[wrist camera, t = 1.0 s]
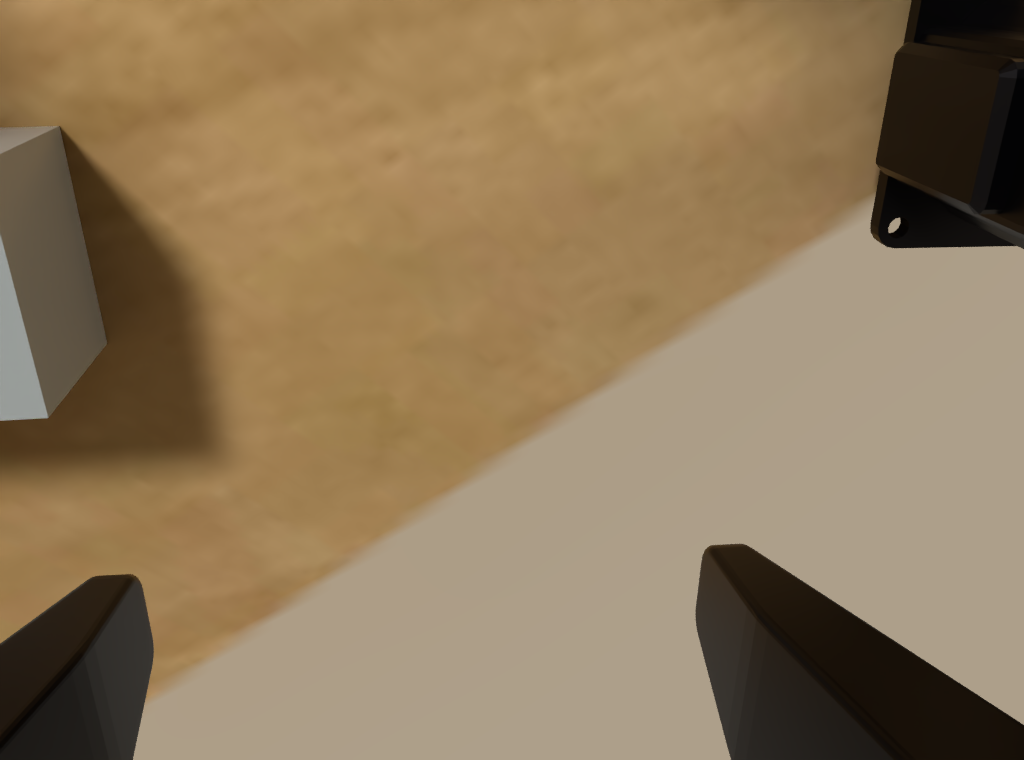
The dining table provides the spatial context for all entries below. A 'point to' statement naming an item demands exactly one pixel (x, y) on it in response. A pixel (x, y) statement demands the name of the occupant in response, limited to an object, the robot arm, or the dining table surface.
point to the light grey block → (42, 277)
